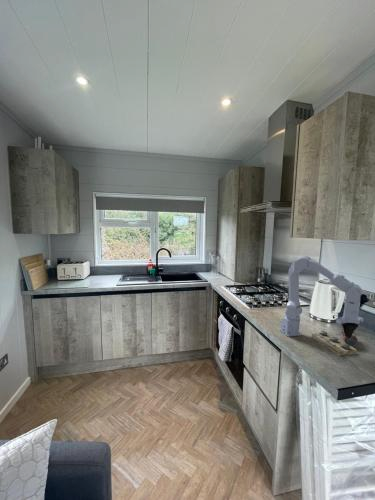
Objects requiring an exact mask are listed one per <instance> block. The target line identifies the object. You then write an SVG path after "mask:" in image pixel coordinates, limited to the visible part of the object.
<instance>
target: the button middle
mask: <svg viewBox="0 0 375 500" xmlns="http://www.w3.org/2000/svg"><path fill="white" fill-rule="evenodd" d="M335 337H336V336H334V337H331V341H332V342H334V343H338V339H339V338H338V337H336V338H335Z"/></svg>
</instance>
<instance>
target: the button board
mask: <svg viewBox="0 0 375 500" xmlns="http://www.w3.org/2000/svg"><path fill="white" fill-rule="evenodd" d="M331 337H335V338H337V337H336V336H334V335H332V334H331V333H329V332H327V336H322V335H321V332H315V333H311V339H314V340H315V341H316V342H317V343H319V344H321V345H322V346H324V347H326V348H327V349H329V350H331V351H332V352H333V353H335V354H336V355H338V356H340V357H341V356H346V355H353V354H356V353H357V349H356V348H354V346H350V345H349V346H350V350H345V349H343V348H342V345H343V344H346V343H345V341H344V340H341V339H339V338H337V339H338V343H334V342H332V341H331Z"/></svg>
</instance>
